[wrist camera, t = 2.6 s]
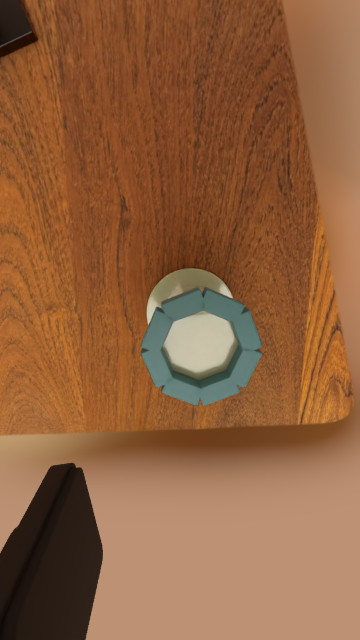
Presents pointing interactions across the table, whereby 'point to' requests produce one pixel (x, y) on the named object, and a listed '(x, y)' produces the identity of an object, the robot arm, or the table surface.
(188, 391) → the ring
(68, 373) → the table surface
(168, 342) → the ring stand
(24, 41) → the black peg stand
